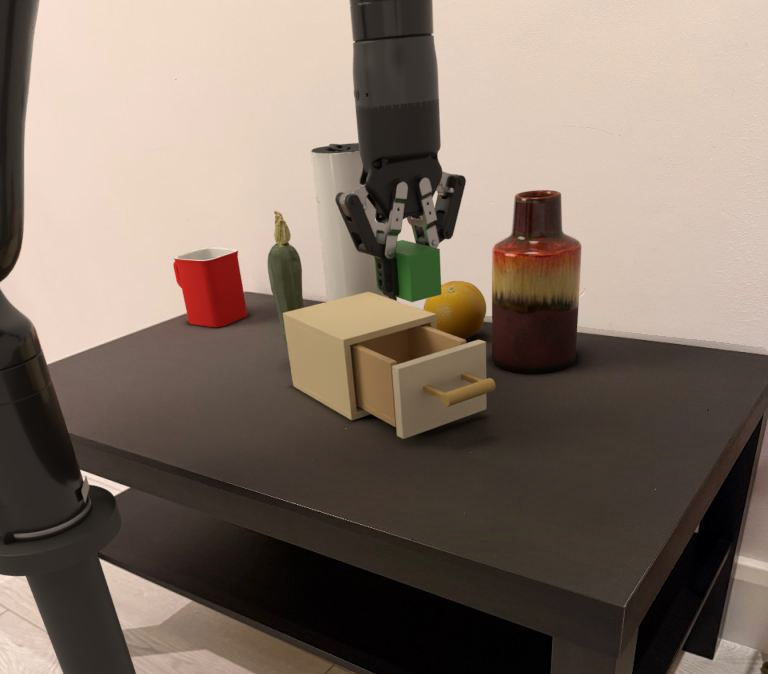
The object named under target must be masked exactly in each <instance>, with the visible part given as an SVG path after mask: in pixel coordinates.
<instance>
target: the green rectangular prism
mask: <svg viewBox="0 0 768 674" xmlns="http://www.w3.org/2000/svg"><path fill="white" fill-rule="evenodd" d="M394 258H396V259H397V268H398V283H399V295H398V296H396V297H397V298H398V299H401V300H404V301H407V302H410V303H414V302H418V301H422V300H426V299H427V298H430V297H434V296H438V295H441V285H442V270H441V269H442V268H441V250H440V248H438V247H437V248H434V247H430V246H426V245H422V244H417V243H416V242H413V241H410V240H405V239H400V240H397V247H396V255H395V257H394ZM374 262H375V274H376V286H377V290H378V291H380V292H382V291H381V290H379V287H378V285H377V273H376V261H375V258H374Z"/></svg>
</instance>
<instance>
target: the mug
mask: <svg viewBox="0 0 768 674" xmlns="http://www.w3.org/2000/svg"><path fill="white" fill-rule="evenodd" d="M173 260H174V261H173V264H172V266H173V267H172V268H173V272H174V276H175V281H176V283H177V285H178V286H179V288H180V289H181V291H182V297H183V301H184V306H185V310H186V316H187V320H188V323H189V325H193V326H194V325H195V326H200V327H206V328H207V327H208V328H222V327H226V326H228V325H231V324H232V323H235V322H237V321H240V320H242V319H244V318H246V317H248V310H247V304H246V298H245V291H244V287H243V280H242V273H241V269H240V263H239V249H238V248H230V247H215V246H207V247H200V248H197V249H193V250H191V251H188V252H184V253H181V254H178V255H175V256H174V257H173Z"/></svg>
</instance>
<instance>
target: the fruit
mask: <svg viewBox="0 0 768 674" xmlns="http://www.w3.org/2000/svg"><path fill="white" fill-rule="evenodd" d="M423 310H425V311H428V312H431V313H434V314H436V325H437V330H439V331H442V332H445V333H448V334H451V335H453V336H456V337H459V338H462V339H464V340H466V339H469V338H471V337H473V336H474V335H476V334H477V333H478V332H479V331H481V329H482V327H483V323H484V321H485V318H486V315H487V303H486V299H485V296H484V294H483V293H482V291H481V290H480V289H479V287H477V286H476V285H474V284H473V283H471V282H468V281H464V280H450V281H447V282H444V283H443V284H442V283H441V295H438V296H434V297H430V298H426V299H425V302H424V304H423Z"/></svg>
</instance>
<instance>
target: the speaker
mask: <svg viewBox="0 0 768 674" xmlns="http://www.w3.org/2000/svg"><path fill="white" fill-rule="evenodd" d="M310 157H311V165H312V175H313V176H312V177H313V182H314V193H315V203H316V210H317V212H316V213H317V220H318V230H319V239H320V249H321V256H322V257H321V258H322V266H323V275H324V283H325V293H326V302H329V301H333V300H337V299H341V298H345V297H349V296H353V295H357V294H361V293H365V292H372V293H375V294H378V295H381V296H383V297H386V298H389V299H392V300H395V301H398V299H397V298H398V297H389V296H386V295H384V294H383V292H380V291H378V290H377V286H376V274H375V262H374V256H372V255H368V254H365V253H361V252H358V251H357V249H356V247H355V245H354V243H353V240H352V238H351V236H350V234H349V231H348V229H347V227H346V224H345V222H344V220H343V218H342V215H341V213H340V211H339V208H338V206H337V204H336V201H335V198H336V195H337V194H338V193H340V192H343V193H347V192H349V191H350V190H352V189H353V188H355V187H356V186H358V185H359V184H360V183H359V182H360V177H361V174H362V169H363V164H362V160H361V157H360V153H359V142H351V143H340V144H339V143H330V144H328V145H326V146H319V147H315V148H312V149H311V150H310ZM366 205H367V210H366V211H365V213H366V215H367V218H368V220H369V223H370V225H371V228H372V217H373V207H374V206H373V205H372V204H371V202H370V201H369V200H368V198H367V197H366ZM386 221H387V223H388V221H389V219H386ZM372 230H373V229H372ZM373 232H374V230H373Z"/></svg>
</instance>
